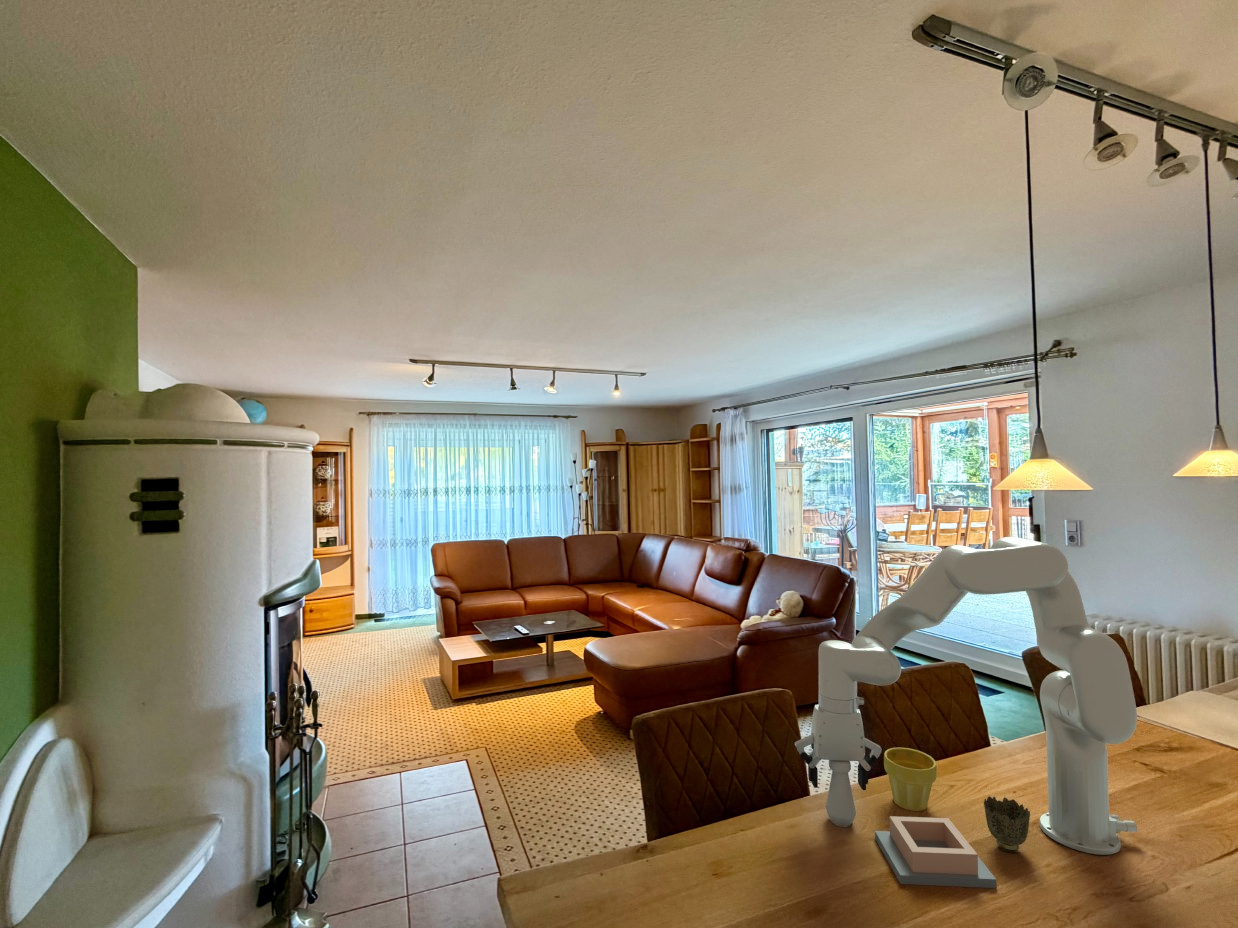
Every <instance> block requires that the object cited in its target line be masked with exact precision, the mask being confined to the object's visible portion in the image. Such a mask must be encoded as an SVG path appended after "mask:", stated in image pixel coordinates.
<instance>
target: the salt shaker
mask: <svg viewBox="0 0 1238 928" xmlns="http://www.w3.org/2000/svg"><path fill="white" fill-rule="evenodd" d="M828 766H829V769H830V770H831V776H830V783H829V787H828V792H827V793H828V794H827V799H826V804H825V807H826V813H827V816H828V818H829V821H830V822H831V823H833V825H835V826H837V827H841V828H842V827H843V828H844V827H845V828H848V827H849V826H850V825H852V824H853V822H854V820H855V818H856V816H857V815H856V814H857V811H856V805H855V800H854V795H853V791H852V786H851V779H850V776H849V773H850V771H851V769H852V765H851V761H838V760H828Z"/></svg>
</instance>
